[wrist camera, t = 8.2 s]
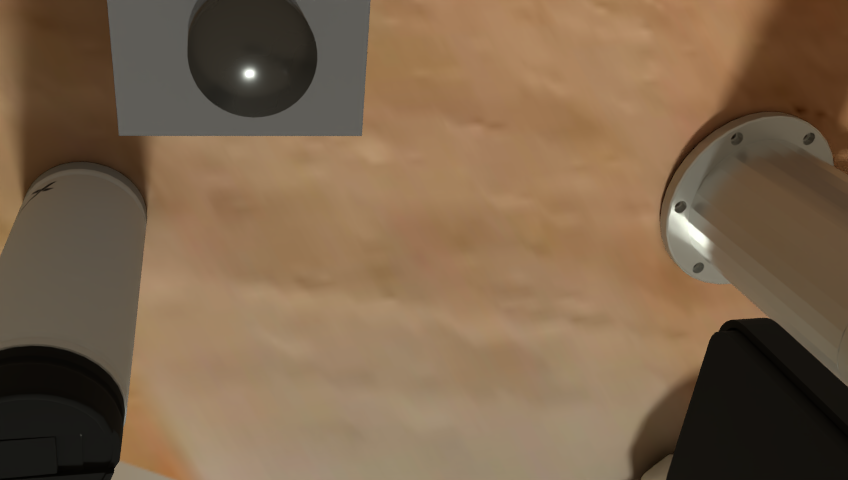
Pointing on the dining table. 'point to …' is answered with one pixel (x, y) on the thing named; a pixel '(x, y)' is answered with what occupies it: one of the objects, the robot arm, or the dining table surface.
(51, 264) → the travel mug
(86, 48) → the dining table surface
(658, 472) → the potion bottle
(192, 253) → the dining table surface
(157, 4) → the grey box with hole
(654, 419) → the dining table surface
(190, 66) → the plunger
